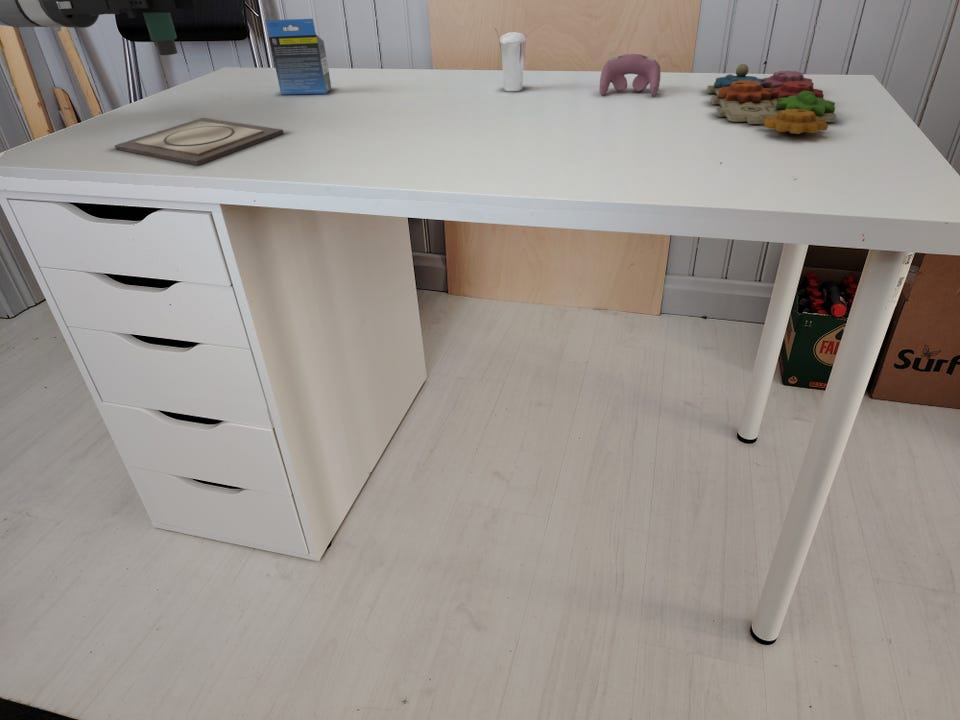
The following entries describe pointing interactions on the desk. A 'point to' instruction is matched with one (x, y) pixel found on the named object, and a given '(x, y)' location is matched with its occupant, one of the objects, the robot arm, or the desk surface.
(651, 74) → the video game controller
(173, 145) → the picture frame
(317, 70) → the tape cartridge
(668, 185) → the desk surface
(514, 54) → the milkshake
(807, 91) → the gear puzzle
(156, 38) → the marker
